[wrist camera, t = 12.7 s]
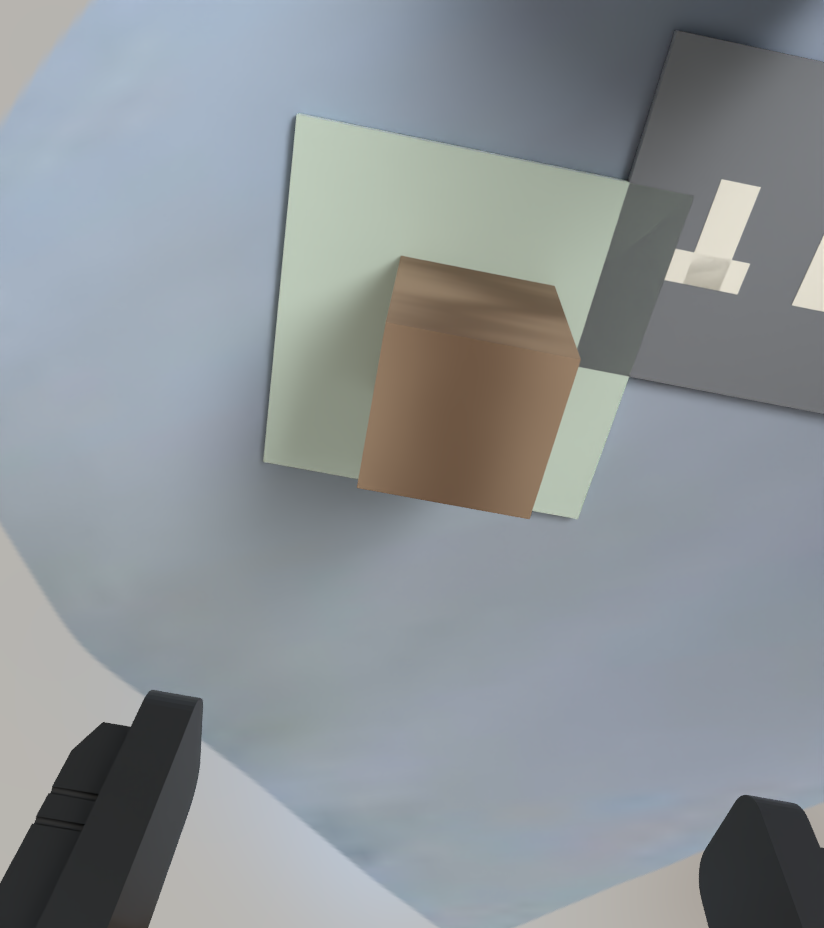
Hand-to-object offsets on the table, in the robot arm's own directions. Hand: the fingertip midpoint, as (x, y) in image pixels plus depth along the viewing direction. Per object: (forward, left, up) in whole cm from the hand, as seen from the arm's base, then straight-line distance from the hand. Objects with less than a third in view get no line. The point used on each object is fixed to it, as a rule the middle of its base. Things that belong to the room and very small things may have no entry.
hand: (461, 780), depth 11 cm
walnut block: (0, 0, -17) cm, 17 cm away
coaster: (0, 0, -17) cm, 17 cm away
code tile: (-9, -5, -17) cm, 20 cm away
